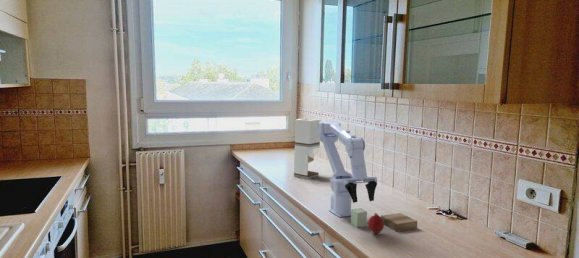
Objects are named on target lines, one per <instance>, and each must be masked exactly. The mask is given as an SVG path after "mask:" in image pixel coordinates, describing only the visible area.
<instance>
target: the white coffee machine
mask: <svg viewBox="0 0 579 258" xmlns="http://www.w3.org/2000/svg"><path fill="white" fill-rule="evenodd" d="M320 121H322V119H312V120H311V119H309V120H308V117H307V118H297V119H295V125H294V155H293V157H294V158H293V159H294V160H293V162H294V163H293V164H294V166H293V177H295V176H296V177H297V178H301V179H305V178H306V180H310V179H313V178H312V177H314V178H316V177H315V176H317V177H319V176H318V175H319V172H318V171H317V172H316V171H311V170H309V169H308V168H309V163H311V162H313V161H315V160H314V159H315V149H319V148H321V147H320V145H321V143H320V142H321V141H320V139H319V136H318V133H317V125H318V123H319V122H320ZM296 177H295V178H296Z"/></svg>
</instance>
